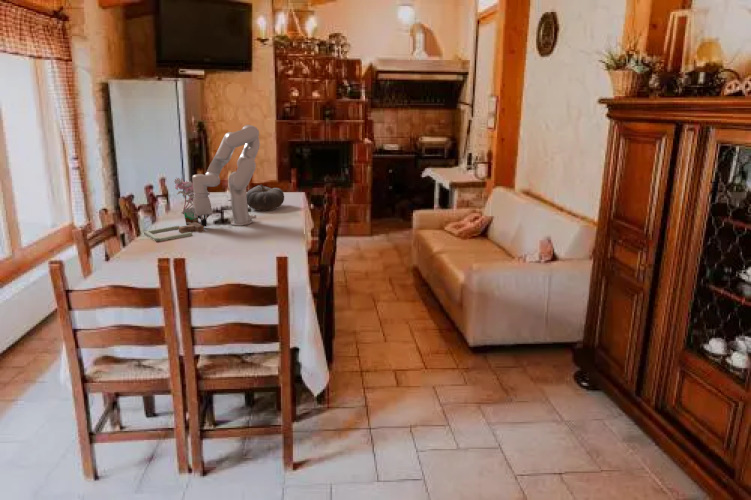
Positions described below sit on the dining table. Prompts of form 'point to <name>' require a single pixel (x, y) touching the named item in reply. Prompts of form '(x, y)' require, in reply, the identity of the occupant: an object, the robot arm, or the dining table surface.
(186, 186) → the flower
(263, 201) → the gourd
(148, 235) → the sage-green bay
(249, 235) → the dining table surface
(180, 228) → the walnut T block
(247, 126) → the robot arm
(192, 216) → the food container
